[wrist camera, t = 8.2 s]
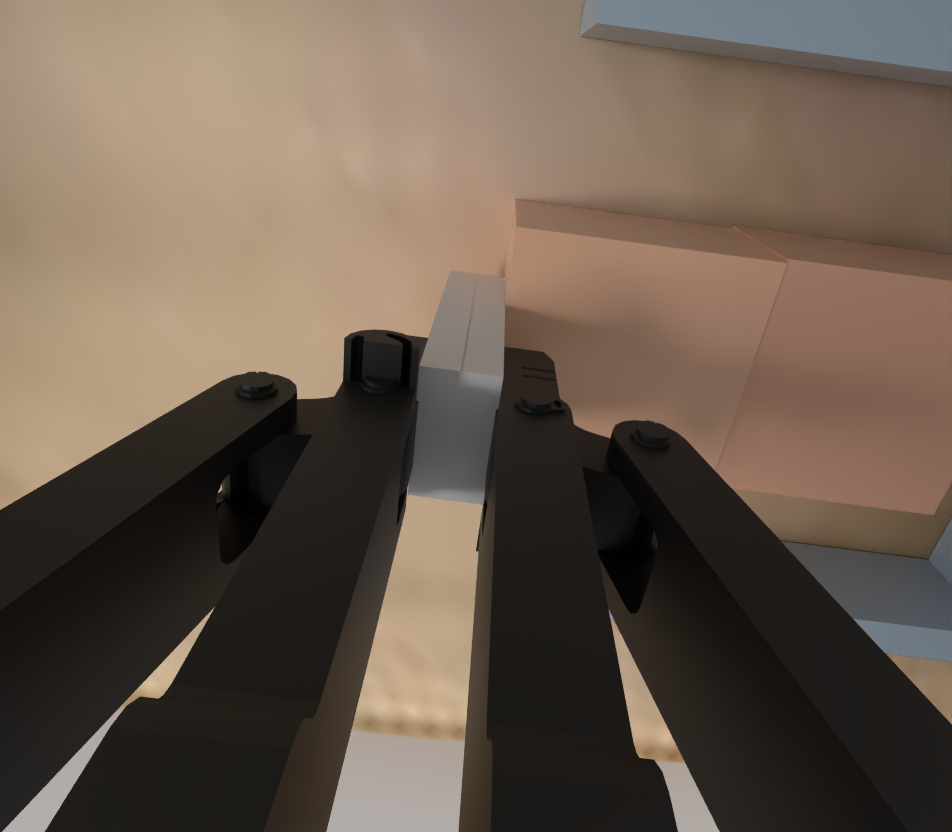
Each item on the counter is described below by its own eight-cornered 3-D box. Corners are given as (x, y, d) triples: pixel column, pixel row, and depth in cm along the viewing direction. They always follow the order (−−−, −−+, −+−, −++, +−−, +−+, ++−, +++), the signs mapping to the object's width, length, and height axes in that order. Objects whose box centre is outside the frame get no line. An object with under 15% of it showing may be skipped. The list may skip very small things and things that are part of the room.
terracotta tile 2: (673, 416, 20) (708, 486, 17) (731, 224, 18) (788, 259, 14) (859, 440, 20) (933, 515, 17) (945, 253, 18) (1055, 295, 14)
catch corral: (495, 533, 22) (493, 604, 19) (589, -24, 15) (610, -52, 12) (946, 590, 23) (1015, 669, 20) (1262, 70, 15) (1456, 66, 12)
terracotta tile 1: (486, 394, 20) (481, 460, 17) (514, 198, 17) (516, 226, 14) (673, 419, 20) (708, 489, 17) (731, 228, 18) (787, 263, 14)
